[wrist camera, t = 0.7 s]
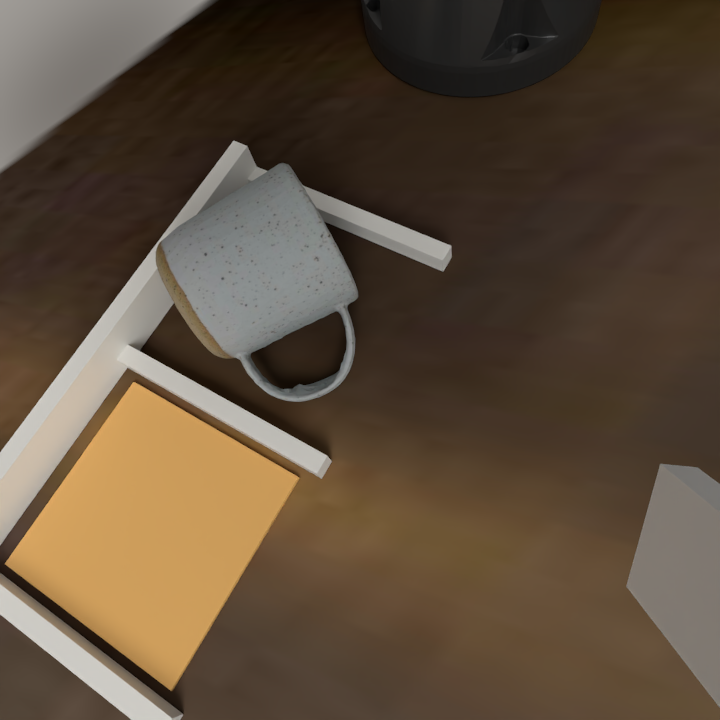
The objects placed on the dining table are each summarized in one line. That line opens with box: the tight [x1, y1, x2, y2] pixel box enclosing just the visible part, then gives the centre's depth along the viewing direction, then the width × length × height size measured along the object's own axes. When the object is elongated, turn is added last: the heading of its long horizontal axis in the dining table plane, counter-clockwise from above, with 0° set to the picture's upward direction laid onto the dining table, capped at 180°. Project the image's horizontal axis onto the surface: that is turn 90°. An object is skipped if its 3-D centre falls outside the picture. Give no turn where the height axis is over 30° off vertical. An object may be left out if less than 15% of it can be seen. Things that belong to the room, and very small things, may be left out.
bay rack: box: [0, 141, 452, 720], centre depth 32 cm, size 27×14×3 cm, turn 150°
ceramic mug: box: [156, 163, 358, 402], centre depth 31 cm, size 11×8×8 cm
